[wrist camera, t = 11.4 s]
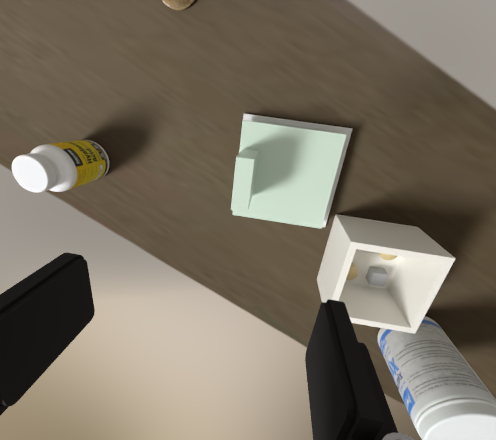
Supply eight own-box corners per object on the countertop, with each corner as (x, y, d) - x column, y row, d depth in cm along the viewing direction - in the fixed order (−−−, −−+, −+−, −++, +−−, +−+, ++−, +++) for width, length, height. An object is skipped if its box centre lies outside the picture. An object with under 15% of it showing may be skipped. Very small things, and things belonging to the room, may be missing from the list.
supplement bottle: (117, 156, 35) (61, 171, 26) (101, 185, 37) (45, 209, 28) (82, 130, 34) (12, 137, 25) (68, 161, 36) (-2, 178, 27)
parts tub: (417, 226, 34) (455, 258, 27) (389, 291, 39) (415, 333, 31) (335, 214, 35) (351, 241, 27) (316, 279, 39) (325, 317, 32)
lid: (342, 133, 30) (363, 140, 23) (319, 222, 35) (329, 251, 28) (244, 119, 31) (234, 122, 24) (234, 209, 36) (223, 234, 28)
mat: (351, 128, 30) (352, 128, 30) (324, 226, 36) (325, 227, 35) (244, 113, 31) (243, 113, 31) (233, 211, 36) (233, 212, 36)
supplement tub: (363, 330, 42) (404, 432, 29) (417, 300, 39) (491, 401, 25) (398, 362, 44) (451, 473, 31) (451, 337, 41) (537, 448, 27)
